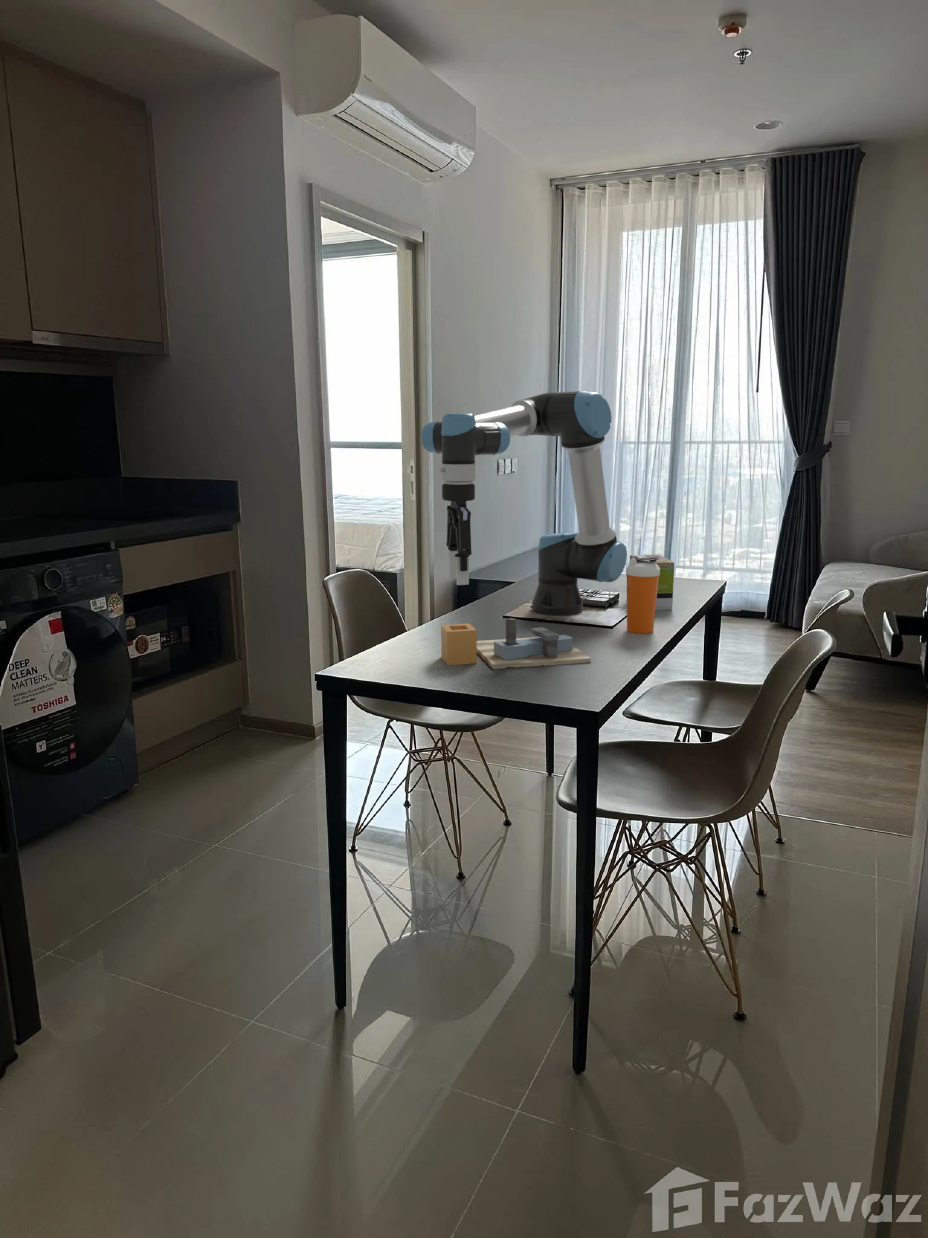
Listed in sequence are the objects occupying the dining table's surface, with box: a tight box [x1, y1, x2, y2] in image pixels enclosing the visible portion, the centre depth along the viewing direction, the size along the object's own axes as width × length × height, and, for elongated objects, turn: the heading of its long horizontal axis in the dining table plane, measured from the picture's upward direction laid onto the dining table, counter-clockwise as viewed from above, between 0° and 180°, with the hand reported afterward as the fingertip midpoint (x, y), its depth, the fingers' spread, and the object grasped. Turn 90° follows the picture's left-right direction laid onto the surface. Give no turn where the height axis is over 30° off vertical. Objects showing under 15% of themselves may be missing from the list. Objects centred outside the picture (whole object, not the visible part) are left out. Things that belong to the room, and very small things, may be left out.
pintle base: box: [477, 617, 592, 669], centre depth 214 cm, size 22×24×10 cm
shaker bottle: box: [625, 556, 660, 635], centre depth 235 cm, size 9×9×20 cm
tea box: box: [629, 554, 675, 611], centre depth 267 cm, size 15×10×15 cm, turn 5°
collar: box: [440, 623, 478, 666], centre depth 208 cm, size 7×7×8 cm
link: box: [494, 634, 574, 660], centre depth 211 cm, size 19×6×3 cm, turn 115°
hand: (458, 581), depth 204 cm, fingers open, 8 cm apart
